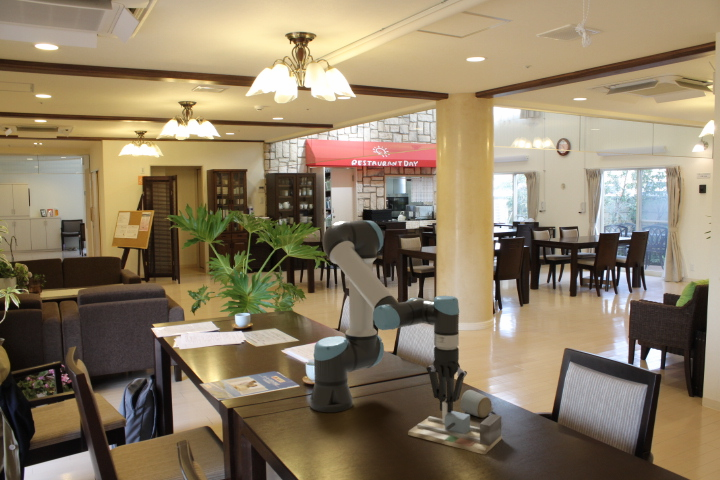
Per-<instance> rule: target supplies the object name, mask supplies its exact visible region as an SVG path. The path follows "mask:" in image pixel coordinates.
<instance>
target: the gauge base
mask: <svg viewBox="0 0 720 480" xmlns="http://www.w3.org/2000/svg"><path fill="white" fill-rule="evenodd" d="M407 435H408V436H411V437H415V438H417V439H418V438H419V439H423V440H427V441H431V442H434V443H438V444H442V445H445V446H450V447H453V448H458V449H462V450H464V451H465V450H466V451H468V452H469V451H470V452H473V453H478V454H479V455H480V454H481V455H486V454H487V453H489V451H491V449H493V448H494V447H495V446H496V445H497V444H498V443H499V442H500V441H501V440H502V439H503V438H502V437H503V436H502V415H498V414H493V413H490V414H489V415H488V417H487V416H486V417H485V419H483V420H482V421H481V422H480V423H479V427H478V426H473V425H470V431H469V432H468V433H466V434H462V433H457V432H453V431H449V430H445V423H442V418H439V417H435V416H430V415H429V416H428V417H427V418H426V419H424V420H423V421H421V422H418V424H416V425H414V426H413V427H412V428H410V429H409V430H407Z"/></svg>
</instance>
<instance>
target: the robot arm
mask: <svg viewBox="0 0 720 480" xmlns="http://www.w3.org/2000/svg"><path fill="white" fill-rule="evenodd" d="M383 234H384V233H383V231H382V230H381V227H379V225H378V224H377V223H376V222H374V221H372V220H364V219H362V220H361V219H360V220H350V221H349V220H348V221H347V220H346V221H343V220H342V221H336V222H334V223H332V224H330V225H329V226H328V227H327V228H326V229H325V231H324V234H323V237H322V247H323V251H324V253H325V255H326V256H327V258H328V259H329V260H330V262H331V264H332V263H333V265H334V264H335V265H337V266H338V267H339V269H340V270H341V271H342V272H343V274H344V275H345V276H346V278H347V279H348V289H349V290H348V298H349V299H348V300H349V301H348V306H349V309H348V310H349V311H348V313H349V314H348V315H349V317H348V318H349V320H348V321H349V328H347V329H346V331H345V335H344V336H340V335H334V336H328V337H327V336H326V337H324V338H321V339H319V340H318V341H316V343H315V344H314V349H313V350H314V351H313V360H314V364H313V365H314V366H313V367H314V368H313V369H314V384H313V385H314V386H313V387H312V388H313V389H312V392H311V394H310V395H311V396H310V399H309V406H310V408H311V409H312V410H314V411H316V412H320V413H321V412H322V413H339V412H344V411H346V410H349V409H351V408H353V405H354V404H353V403H354V402H353V401H354V397H353V396H352V392H351V390H350V386H349V381H348V376H349V375H348V373H351V372H356V371H360V370H364V369H365V370H366V369H370V368H372V367H374V366H377V365H378V364H379V363H380V362H381V361H382V359H383V357H384V353H385V347H384V346H385V345H384V343H383V342H382V341H383V339H382V338H381V336H379V335H378V331H377V330H376V329H375V327H374V325H375V326H376V328H377V329H378V330H381V331H389V330H390V331H391V330H392V331H393V330H396V329H400V328H403V327H409V326H415V325H420V324H426V325H431V326H433V345H434V347H433V359H434V360H433V363H432V364H431V365H428V366H427V367H426V371H427V374H428V375H429V381H430V384H431V388H432V393H433V398H434V399H437V400H439V410H440V412H442V413H441V415H442V416H441V417H442V418H441V419H442V423H445V415H447V414H448V413H451V412H452V411H454V403H455V402H458V400H459V399H460V395H461V391H462V387H463V384H464V379H465V377H466V376H467V375H468V371H466V370H463V369H462V368H461V366H460V363H459V359H460V355H459V354H460V352H459V351H460V349H459V345H460V337H459V333H460V332H459V325H460V324H459V323H460V322H459V321H460V307H459V299H458V298H457V297H456V296H453V295H437V296H435V297H434V298H433V300H430V299H426V298H422V297H411V298H409V299H407V300H406V301H402V302H398V301H397V299H396V298H395V297H394V296H393V294H392V293H390V291H389V290H388V288H387V287H386V286H385V285H384V284H383V282H382V281H381V280H380V279H379V277H377V275H376V274H375V273H374V270H373V266H374V265H373V263H374V261H375V260H376V259H377V258H378V257H377V256H378V255H377V254H378V252H379V251H381V249H382V247H383V246H384V236H383ZM437 374H438V375H437ZM456 375H457V376H456ZM455 376H456V377H457V378H456V380H455ZM454 380H455V381H456V382H454ZM454 385H455V386H454Z"/></svg>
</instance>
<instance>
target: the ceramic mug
mask: <svg viewBox="0 0 720 480" xmlns="http://www.w3.org/2000/svg"><path fill="white" fill-rule="evenodd" d="M460 409H461V411H463V412H464V413H465V414H469V415H472V416H475V417H477V418H481V419H482V418H483V419H484V418H487V416H489V415H490V414H491V413H493V411H494V407H493V405H492V401H491V399H490V398H489V397H488V396H486V395H484V394H482V393H480V392H477V391H475V390H473V389H468V390H465V391H464V392H463V394H462V395H461V399H460Z"/></svg>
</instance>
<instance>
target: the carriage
mask: <svg viewBox="0 0 720 480" xmlns="http://www.w3.org/2000/svg"><path fill="white" fill-rule="evenodd" d="M470 426H471V414H469V413H466V412H464V413H463V412H459V411H456V410H453V411H452V412H451V413H448V414H447V415H445V430H449V431H453V432H457V433H462V434H466V433H468V432H469V431H470Z"/></svg>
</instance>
